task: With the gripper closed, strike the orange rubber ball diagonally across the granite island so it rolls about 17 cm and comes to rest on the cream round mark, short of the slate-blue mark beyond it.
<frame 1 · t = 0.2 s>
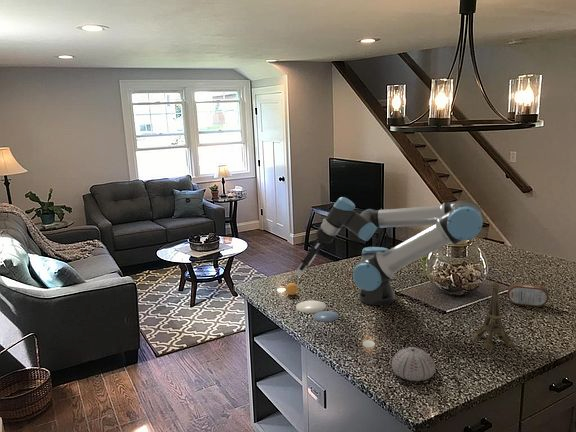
hand: (302, 269, 203), 16 cm above the worktop, tool tilted 35°, fingers open, 13 cm apart
tin: (527, 305, 193), on the worktop
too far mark: (326, 316, 192), on the worktop
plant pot: (430, 276, 232), on the worktop
eiffel tower: (493, 341, 166), on the worktop
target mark: (311, 306, 203), on the worktop
sea urchin shell: (413, 374, 148), on the worktop
ball: (291, 289, 217), on the worktop
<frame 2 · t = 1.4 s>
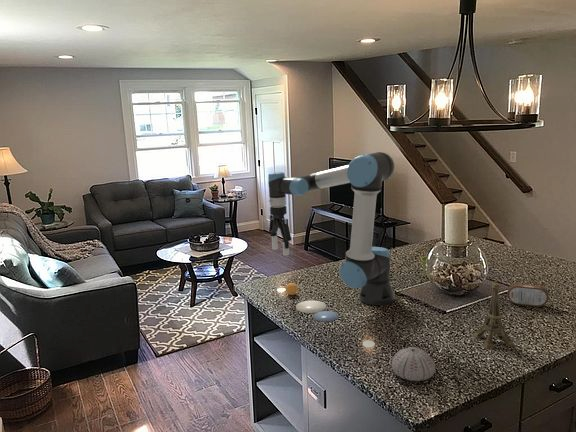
hand: (280, 252, 222), 18 cm above the worktop, tool pointing down, fingers open, 11 cm apart
nothing on the worktop moved.
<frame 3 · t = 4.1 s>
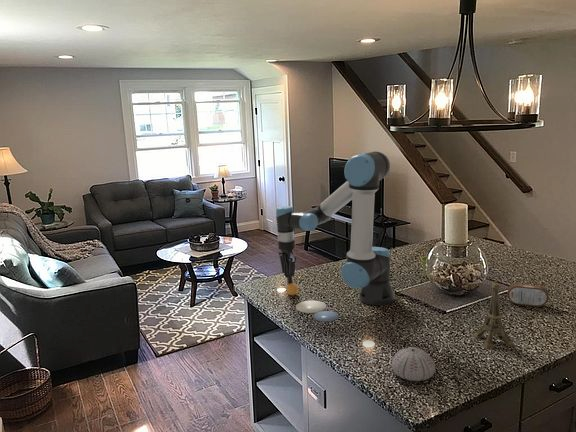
hand: (289, 289, 220), 2 cm above the worktop, tool pointing down, fingers closed
ball: (292, 289, 216), on the worktop, touching gripper
everything else where it was.
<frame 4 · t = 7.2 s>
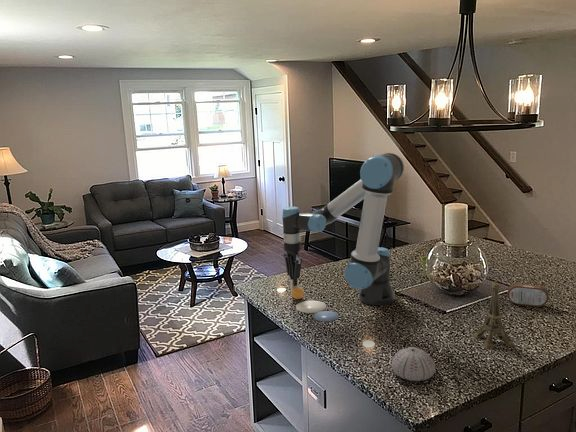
hand: (294, 291, 215), 2 cm above the worktop, tool pointing down, fingers closed
ball: (297, 293, 212), on the worktop, touching gripper
everything else where it was.
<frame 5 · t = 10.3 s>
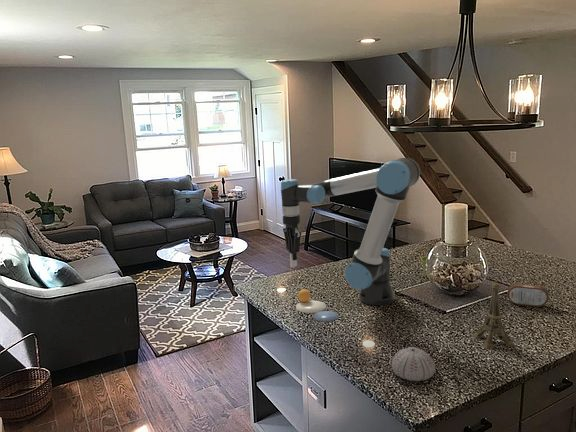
hand: (293, 266, 212), 14 cm above the worktop, tool pointing down, fingers closed
ball: (304, 295, 208), on the worktop
everything else where it was.
at the end: ball 6.6 cm from the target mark (horizontally); ball at rest at the end (0.0 cm/s); ball moved 10.4 cm from its start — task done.
